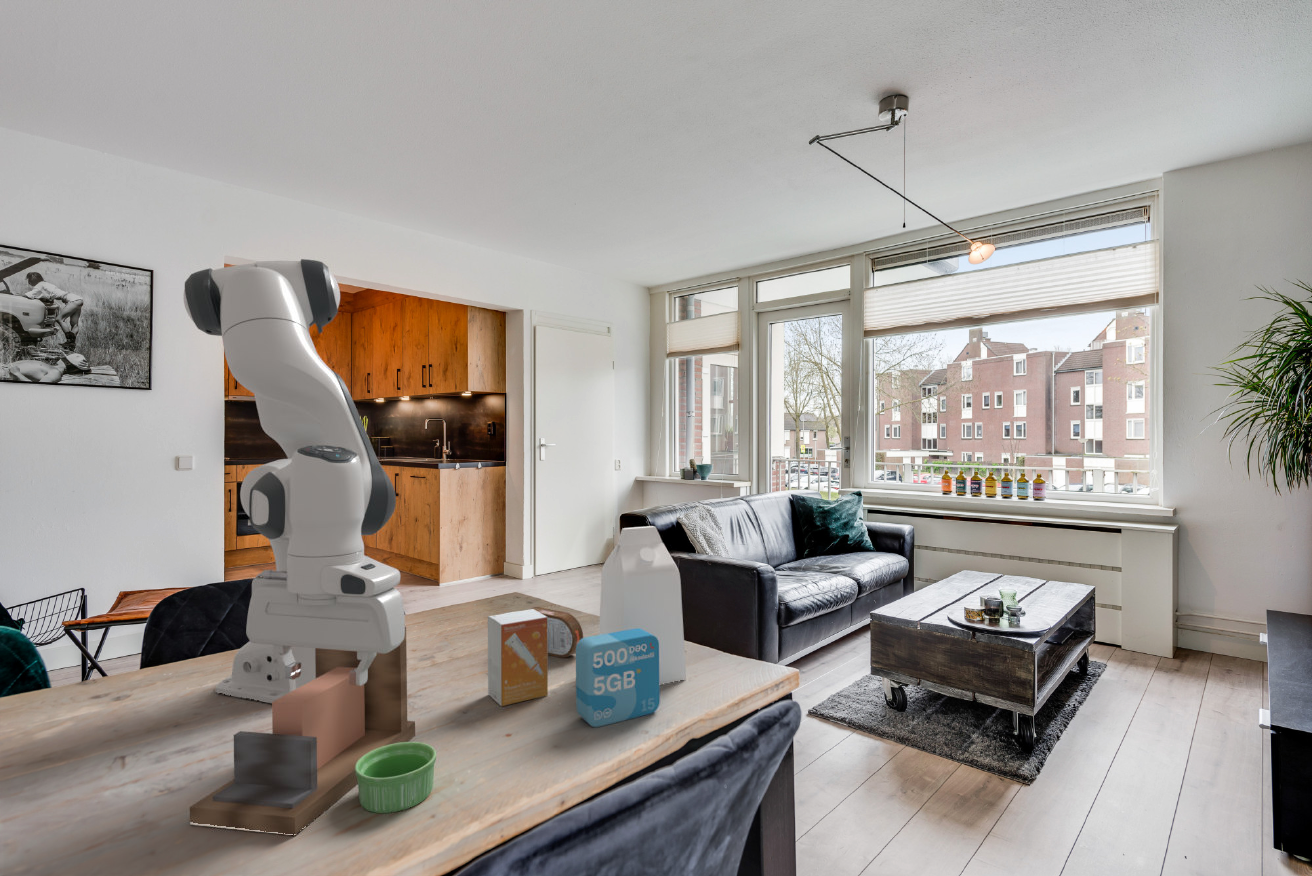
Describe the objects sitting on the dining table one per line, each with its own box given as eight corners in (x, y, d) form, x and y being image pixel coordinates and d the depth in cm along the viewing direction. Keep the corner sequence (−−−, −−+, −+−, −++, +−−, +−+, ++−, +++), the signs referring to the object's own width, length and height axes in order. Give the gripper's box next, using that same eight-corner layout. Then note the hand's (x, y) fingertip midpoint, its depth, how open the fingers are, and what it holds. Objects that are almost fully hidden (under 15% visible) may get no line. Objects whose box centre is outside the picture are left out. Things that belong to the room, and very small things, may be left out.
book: (273, 777, 79) (272, 701, 79) (338, 732, 91) (337, 667, 91) (303, 780, 78) (302, 703, 78) (364, 734, 90) (364, 668, 90)
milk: (657, 659, 125) (655, 521, 125) (686, 680, 114) (684, 529, 114) (597, 670, 120) (595, 526, 120) (621, 692, 109) (620, 534, 109)
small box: (501, 707, 104) (500, 624, 103) (487, 694, 109) (486, 615, 109) (549, 696, 108) (548, 616, 108) (533, 684, 113) (532, 607, 113)
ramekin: (446, 775, 83) (445, 740, 83) (422, 816, 74) (422, 777, 74) (373, 777, 83) (373, 742, 83) (341, 818, 74) (340, 779, 74)
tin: (584, 657, 127) (584, 613, 127) (574, 662, 124) (573, 617, 124) (526, 645, 135) (525, 603, 135) (515, 649, 132) (514, 607, 132)
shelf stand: (189, 825, 73) (187, 679, 73) (332, 729, 96) (331, 619, 96) (295, 836, 71) (293, 686, 70) (415, 735, 94) (413, 622, 94)
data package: (588, 730, 95) (587, 646, 95) (575, 718, 99) (574, 638, 99) (660, 712, 101) (659, 633, 101) (646, 702, 105) (645, 626, 105)
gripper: (234, 574, 83) (233, 683, 84) (385, 583, 80) (383, 697, 80) (270, 564, 90) (269, 666, 90) (412, 572, 86) (410, 678, 87)
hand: (324, 680), depth 85 cm, fingers open, 8 cm apart
